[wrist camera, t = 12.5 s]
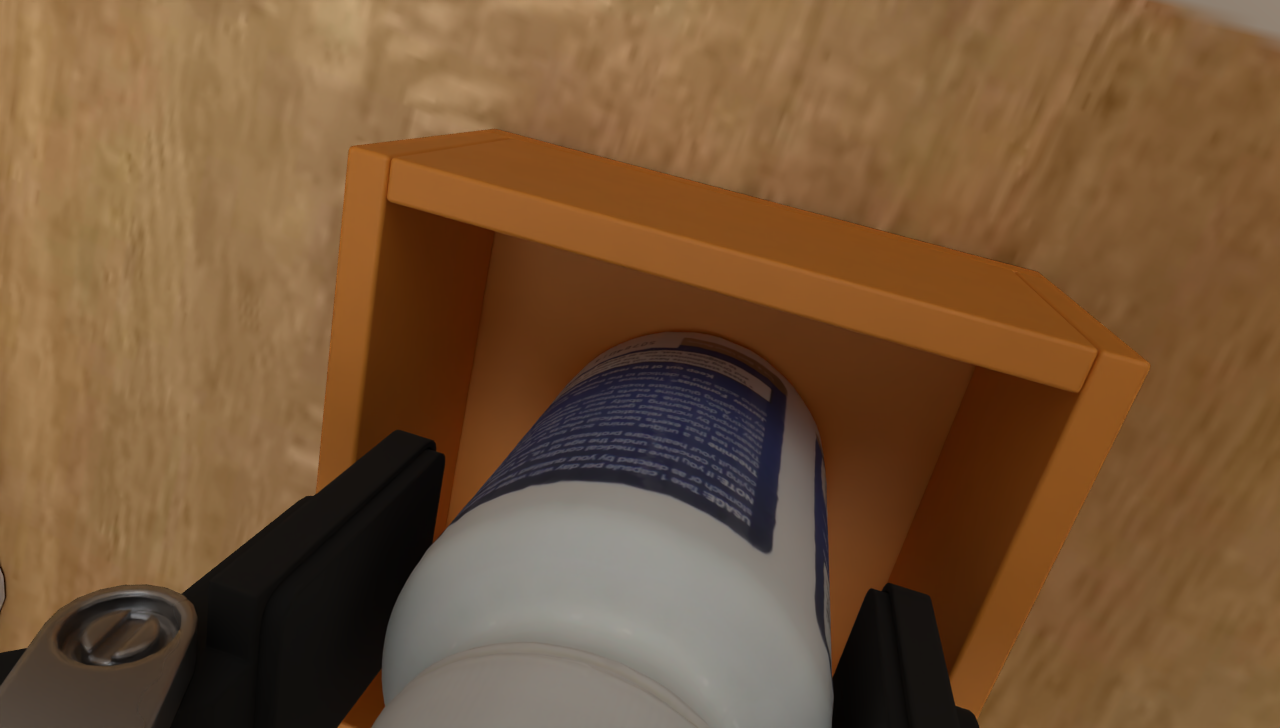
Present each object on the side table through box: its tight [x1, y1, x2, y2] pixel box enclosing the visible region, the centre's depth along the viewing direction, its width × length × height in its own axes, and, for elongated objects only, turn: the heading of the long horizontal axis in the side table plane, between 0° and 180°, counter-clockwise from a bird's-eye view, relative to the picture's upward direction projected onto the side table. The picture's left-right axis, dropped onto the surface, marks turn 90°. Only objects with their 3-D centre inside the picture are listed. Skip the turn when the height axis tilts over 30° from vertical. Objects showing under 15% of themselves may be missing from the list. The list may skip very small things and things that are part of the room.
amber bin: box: [316, 129, 1150, 728], centre depth 14 cm, size 10×10×5 cm
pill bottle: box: [371, 332, 834, 728], centre depth 11 cm, size 5×5×10 cm
